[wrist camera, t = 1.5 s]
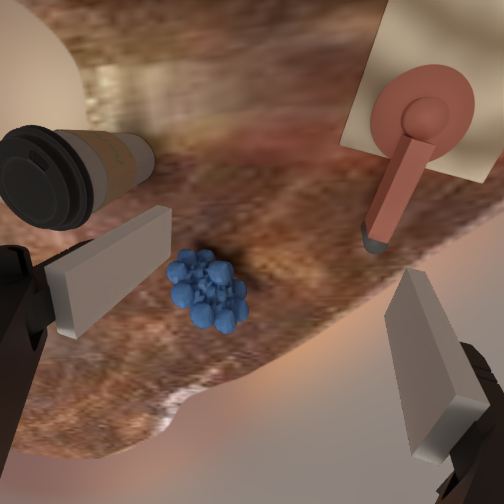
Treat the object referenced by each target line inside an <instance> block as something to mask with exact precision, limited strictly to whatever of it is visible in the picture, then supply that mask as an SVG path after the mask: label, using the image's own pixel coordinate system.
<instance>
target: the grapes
mask: <svg viewBox="0 0 504 504" xmlns="http://www.w3.org/2000/svg"><path fill="white" fill-rule="evenodd" d="M166 272H167V277H168V279H169V280H170V281H171V282H172V283H173V284H175V285H173V287H172V289H171V298H172V301H173V302H174V304H175V305H176V306H177V307H180V308H189V307H190V306H192V307H191V309H190V318H191V320H192V322H193V324H194V325H195V326H197V327H199V328H201V329H207V328H209V327H210V326H211V325H212V324H213V323H214V325H215V327H216V328H217V330H218V331H220V332H222V333H224V334H228V333H231V332H232V331H234V330H235V327H236V325H237V322H243V321H244V320H246V319H247V317H248V314H249V308H248V305H247V302H246V301H245V300H244V299H245V298H246V295H247V288H246V285H245V283H244V282H243V281H241V280H239V279H233V277H234V269H233V266H232V265H231V263H229V262H227V261H216V258H215V255H214V254H213V252H212V251H210V250H207V249H203V250H200V251H198V252H197V254H196V252H195V251H193V250H191V249H183V250H181V251H179V253H178V255H177V261H173V262H171V263H170V264H169V265H168V267H167V269H166Z"/></svg>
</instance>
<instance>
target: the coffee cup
mask: <svg viewBox="0 0 504 504" xmlns="http://www.w3.org/2000/svg"><path fill="white" fill-rule="evenodd" d="M154 166H155V157H154V154H153V151H152V149H151V148H150V146H149V145H148V144H147V143H146V142H145V141H144V140H143V139H142V138H141V137H139V136H137V135H134V134H129V133H109V132H105V131H88V130H54V131H51V130H49V129H47V128H45V127H41V126H36V125H26V126H23V127H20V128H16V129H14V130H12V131H10V132H8V133H7V134H6V135H5V136H4V138H3V139H2V140H1V141H0V196H1V197H2V199H3V200H4V202H5V203H6V205H7V206H8V207H9V208H10V209H11V210H12V211H13V212H14V213H15V214H16V215H17V216H18V217H19V218H21V219H22V220H23V221H25V222H26V223H28V224H30V225H32V226H35V227H38V228H42V229H51V230H56V231H66V230H70V229H75V228H78V227H80V226H82V225H83V224H84V223H85V222H86V221H87V220H88V219H89V217H90V215H91V213H94V212H96V211H98V210H99V209H101V208H103V207H104V206H106V205H108V204H109V203H111V202H113V201H114V200H116V199H117V198H119V197H121V196H122V195H124V194H126V193H127V192H128V191H129V190H130V189H131V188H133V187H135V186H136V185H138V184H140V183H141V182H143V181H144V180H146V179H147V178H149V177H150V175H151V174H152V172H153V170H154Z"/></svg>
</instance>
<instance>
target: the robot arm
mask: <svg viewBox="0 0 504 504" xmlns="http://www.w3.org/2000/svg"><path fill="white" fill-rule="evenodd" d="M171 218H172V208H168V207H164V206H160V205H157V206H155V207H153V208H151V209H149V210H148V211H146V212H144V213H142V214H140V215H138V216H137V217H135V218H133V219H131V220H129V221H127V222H126V223H124V224H122V225H120V226H118V227H116V228H115V229H113V230H111V231H109V232H107V233H105V234H104V235H102V236H100V237H98V238H96V239H91V240H87V241H84V242H80V243H78V244H76V245H74V246H72V247H70V248H69V250H68V249H66V250H65V251H63V252H61V253H60V254H57V255H55V256H53V257H51V258H49V259H47V260H46V261H44V262H42V263H40V264H38V265H36V266H34V267H33V266H32V262H31V257H30V253H29V250H28V249H27V248H26V247H23V246H19V245H2V246H0V477H1V474H2V471H3V468H4V465H5V462H6V459H7V456H8V453H9V450H10V447H11V444H12V441H13V438H14V435H15V432H16V429H17V426H18V423H19V420H20V417H21V414H22V411H23V408H24V405H25V402H26V399H27V396H28V393H29V390H30V387H31V384H32V381H33V378H34V375H35V372H36V369H37V366H38V363H39V360H40V357H41V354H42V351H43V348H44V345H45V342H46V339H47V326H48V325H49V324H51V323H52V322H53V321H56V326H57V331H58V333H60V334H63V335H65V336H68V337H71V338H74V339H77V338H79V337H80V336H81V335H82V334H83V333H84V332H85V331H87V330H88V329H89V328H90V327H91V326H92V325H93V324H94V323H96V322H97V321H98V320H99V319H100V318H101V317H102V316H104V315H105V314H106V313H107V312H108V311H109V310H110V309H111V308H113V307H114V306H115V305H116V304H117V303H118V302H119V301H120V300H122V299H123V298H124V297H125V296H126V295H127V294H128V293H130V292H131V291H132V290H133V289H134V288H135V287H136V286H137V285H139V284H140V283H141V282H142V281H143V280H144V279H145V278H146V277H148V276H149V275H150V274H151V273H152V272H153V271H154V270H156V269H157V268H158V267H159V266H160V265H161V264H162V263H163V262H165V261H166V260H167V259H168V258H169V257H170V256H171ZM384 317H385V322H386V328H387V333H388V338H389V343H390V348H391V353H392V358H393V363H394V369H395V373H396V379H397V384H398V389H399V394H400V399H401V404H402V409H403V414H404V419H405V425H406V430H407V435H408V440H409V445H410V450H411V455H412V457H415V458H418V459H421V460H424V461H427V462H430V463H433V464H435V465H438V466H440V465H441V464H442V463H443V461H444V460H445V459H446V458H447V457H448V455H449V454H450V456H451V460H452V463H453V466H454V471H453V472H452V473H451V474H450V476H449V477H448V478H447V479H446V480H445V481H444V482H443V484H442V485H441V486H440V487H439V488H438V489H437V491H436V492H437V493H439V494H440V495H439V497H438V499H437V501H436V503H435V504H504V393H503V390H502V389H501V387H500V385H499V384H497V382H498V381H497V380H496V378H495V376H494V374H493V373H491V369H490V367H489V365H488V364H487V362H486V360H485V358H484V357H483V356H482V355H481V354H480V353H479V352H478V351H477V350H476V349H475V348H474V347H473V346H472V345H470V344H467V343H463V342H459V340H458V338H457V336H456V334H455V332H454V330H453V328H452V326H451V324H450V322H449V320H448V318H447V316H446V314H445V312H444V310H443V308H442V306H441V304H440V301H439V299H438V297H437V295H436V293H435V291H434V289H433V287H432V285H431V283H430V281H429V279H428V277H427V275H426V273H425V272H423V271H419V270H415V269H411V268H406V270H405V272H404V274H403V276H402V279H401V281H400V283H399V286H398V287H397V289H396V292H395V294H394V296H393V298H392V300H391V303H390V305H389V307H388V309H387V311H386V313H385V315H384Z"/></svg>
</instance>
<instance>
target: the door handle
mask: <svg viewBox="0 0 504 504" xmlns="http://www.w3.org/2000/svg"><path fill="white" fill-rule="evenodd" d="M474 110H475V99H474V93H473V89H472V87H471V85H470V83H469V82H468V80H467V79H466V78H465V77H464V75H463V74H461V73H460V72H459V71H457V70H456V69H454V68H452V67H449V66H445V65H439V64H429V65H423V66H419V67H416V68H413V69H411V70H408V71H406V72H404V73H403V74H401V75H399V76H398V77H396V78H395V79H393V80H392V81H391V82H390V83H389V84H388V85H387V86H386V87H385V88H384V89H383V90H382V92H381V93H380V94H379V96H378V98H377V100H376V102H375V104H374V106H373V109H372V112H371V118H370V130H371V135H372V138H373V140H374V142H375V144H376V146H377V147H378V148H379V150H380V151H381V152H382V153H383V154H384V155H385V156H386V157H388V158H389V159H391V160H390V163H389V165H388V167H387V170H386V172H385V174H384V177H383V179H382V181H381V183H380V186H379V188H378V190H377V193H376V195H375V197H374V200H373V202H372V204H371V206H370V209H369V211H368V213H367V216H366V218H365V220H364V221H363V222H362V225H361V229H362V236H363V242H364V247H365V249H366V250H367V251H368V252H369V253H372V254H379V253H382V252H383V251H385V250H386V248H387V247H388V242H389V240H390V238H391V236H392V234H393V232H394V230H395V228H396V226H397V224H398V222H399V220H400V218H401V216H402V213H403V211H404V209H405V207H406V205H407V203H408V201H409V199H410V197H411V195H412V193H413V191H414V189H415V187H416V185H417V183H418V181H419V179H420V177H421V175H422V173H423V171H424V169H425V167H426V165H427V163H428V162H431V161H433V160H436V159H438V158H440V157H442V156H444V155H445V154H446V153H448V152H449V151H451V150H452V149H453V148H454V147H455V146H456V145H457V144H458V143H459V142H460V141H461V139H462V138H463V137H464V135H465V134H466V132H467V131H468V129H469V127H470V124H471V122H472V119H473V115H474Z"/></svg>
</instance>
